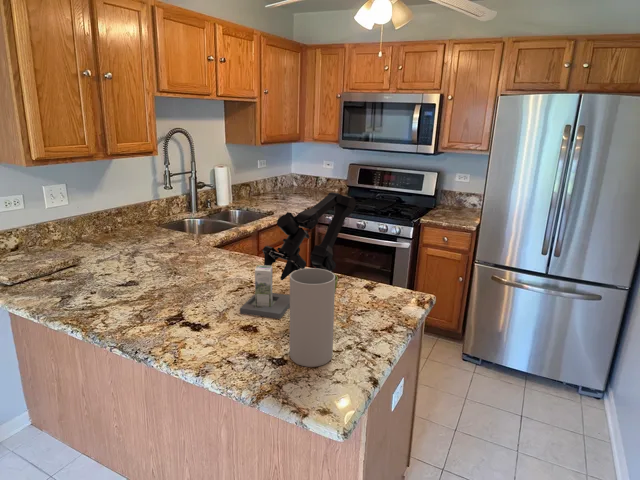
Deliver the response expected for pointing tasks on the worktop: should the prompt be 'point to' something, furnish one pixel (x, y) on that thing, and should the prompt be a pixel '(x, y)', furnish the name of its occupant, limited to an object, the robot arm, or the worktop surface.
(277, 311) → the pocket plate
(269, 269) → the syrup box
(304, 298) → the cylinder vase
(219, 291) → the worktop surface
